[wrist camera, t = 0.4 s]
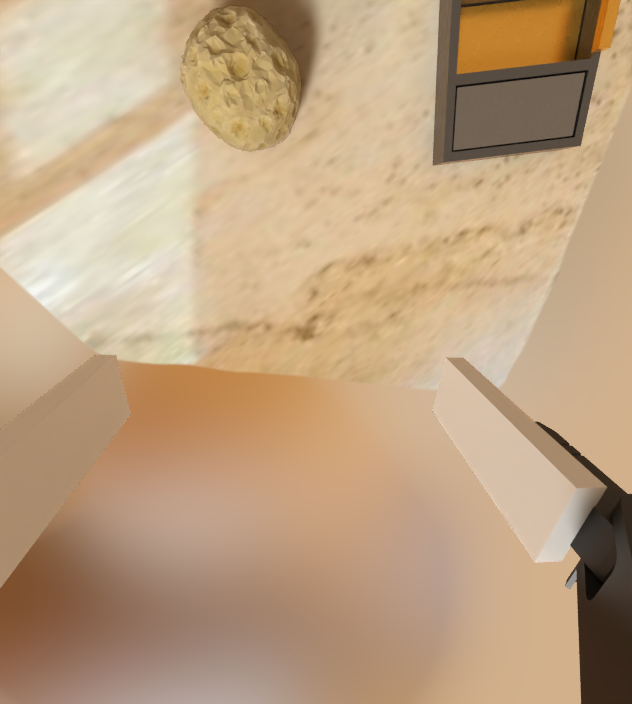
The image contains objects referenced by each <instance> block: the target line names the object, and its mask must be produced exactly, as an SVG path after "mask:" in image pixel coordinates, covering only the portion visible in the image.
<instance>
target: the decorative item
mask: <svg viewBox="0 0 632 704" xmlns="http://www.w3.org/2000/svg"><path fill="white" fill-rule="evenodd" d="M181 57H182V58H183V62H182V64H181V68H180V69H181V81H182V84H183V87H184V91H185V93H186V95H187V97H188V98H189V100H190V101H191V103H192V106H193V109H194V111H195V112H196V113H197V115H198V116H199V118H200V119H201V120H202V121H203V122H204V124H205V125H206V126H207V127H208V128H209V129H210V130H211V131H212V132H213V133H214V134H215V135H216V136H217V137H218V138H220V139H222V140H223V141H224V142H226V143H227V144H228V145H230V146H233V147H235V148H237V149H240V150H242V151H249V152H251V151H256V150H263V149H265V148H270V147H274V146H275V145H276V144H277V143H279V144H280V143H281V142H283V141H284V140H285V139H286V138H287V136H288V134H289V133H290V131H291V128H292V126H293V124H294V122H295V119H296V113H297V111H298V108H299V102H300V92H301V78H300V70H299V66H298V63H297V61H296V60H295V58H294V56H293V55H292V53H291V50H290V48H289V47H288V46H287V44H286V42H285V40H284V39H283V38H282V37H281V36H280V35H279V33H278V32H277V31H276V30H275V28H274V27H273V26H272V25H270V24H269V23H268V22H267V21H266V19H265V18H262V17H261V16H260V15H258V14H257V13H256V12H255V11H254V10H252V9H250V8H248V7H245V6H242V7H238V6H231V5H229V6H227V7H226V8H216V9H213V10H211V11H210V13H209V14H208V15H207V16H205V18H204V19H203V20H201V21H199V22H198V24H197V25H196V27H195V28H194V30H193V32H192V33H191V34H190V37H189V39H188V40H187V42H186V50H185V54H184V55H183V56H181Z"/></svg>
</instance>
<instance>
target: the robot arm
mask: <svg viewBox="0 0 632 704" xmlns="http://www.w3.org/2000/svg"><path fill="white" fill-rule="evenodd" d="M432 412H433V413H434V415H435V416H436V418H437V419H438V421H439V422H440V424H441V425H442V427H443V428H444V430H445V431H446V433H447V434H448V436H449V437H450V438H451V440H452V441H453V443H454V444H455V446H456V447H457V449H458V450H459V452H460V453H461V455H462V456H463V457H464V459H465V461H466V462H467V463H468V465H469V466H470V468H471V469H472V471H473V472H474V473H475V475H476V477H477V478H478V480H479V481H480V483H481V484H482V486H483V487H484V488H485V490H486V492H487V493H488V494H489V496H490V497H491V499H492V500H493V502H494V503H495V505H496V506H497V508H498V509H499V511H500V512H501V514H502V515H503V517H504V518H505V520H506V521H507V522H508V524H509V525H510V527H511V528H512V530H513V531H514V533H515V534H516V536H517V537H518V539H519V540H520V541H521V543H522V545H523V546H524V548H525V549H526V551H527V552H528V553H529V555H530V556H531V558H532V559H533V561H534V562H535V563H537V562H555V561H562V560H563V558H564V556H565V555H566V553H567V551H568V550H569V548H570V547H572V548H573V549H574V550H575V552H576V553H577V554H578V555H579V557H580V558H581V559H580V561H579V563H578V564H577V565H576V567H575V569H574V570H573V572H572V573H571V575H570V576H569V578H568V579H567V582H566V585H565V587H567V588H569V589H570V588H571V587H572V585H573V584H574V582H577V596H578V597H577V599H578V627H579V654H580V681H581V704H632V494H627V493H626V492H625V491H623V490H622V489H621V488H620V487H619V486H618V485H617V484H615V483H614V482H613V481H612V480H611V479H610V478H608V477H607V476H606V475H605V474H604V473H603V472H602V471H600V470H599V469H598V468H597V467H596V466H595V465H594V464H592V463H591V462H590V461H589V460H587V458H585V457H584V456H581V453H580V452H578V451H577V450H576V449H575V448H574V447H573V446H570V445H569V443H568V442H567V441H566V440H564V439H563V438H562V437H561V436H560V435H559V434H558V433H556V432H555V431H554V430H552V429H550V428H548V427H546V426H545V425H543V424H541V423H540V422H534V421H533V420H532V419H531V418H530V417H529V416H527V415H526V414H525V413H524V412H523V411H522V410H521V409H520V408H519V407H517V406H516V405H515V404H514V403H513V402H512V401H511V400H510V399H508V397H506V396H505V395H504V394H503V393H502V392H501V391H500V390H499V389H498V388H496V387H495V386H494V385H493V384H492V383H491V382H490V381H489V380H488V379H486V378H485V377H484V376H483V375H482V374H481V373H480V372H479V371H477V370H476V369H475V368H474V367H473V366H472V365H471V364H470V363H469V362H467V361H466V360H465V359H464V358H446V359H445V363H444V367H443V371H442V375H441V379H440V383H439V387H438V391H437V395H436V400H435V403H434V407H433V411H432ZM130 415H131V412H130V408H129V404H128V400H127V396H126V393H125V389H124V385H123V381H122V377H121V373H120V369H119V365H118V361H117V357H116V355H94V356H93V357H92V358H90V359H89V360H88V361H87V362H85V363H84V364H83V365H81V366H80V367H79V368H78V369H76V370H75V371H74V372H73V373H71V374H70V375H69V376H67V377H66V378H65V379H63V380H62V381H61V382H60V383H58V384H57V385H56V386H55V387H53V388H52V389H51V390H49V391H48V392H47V393H46V394H44V395H43V396H42V397H40V398H39V399H38V400H37V401H35V402H34V403H33V404H31V405H30V406H29V407H28V408H26V409H25V410H24V411H23V412H22V413H20V414H19V415H17V416H16V417H15V418H14V419H12V420H11V421H10V422H8V423H7V424H6V425H5V426H3V427H2V428H1V429H0V588H1V587H2V585H3V584H4V582H5V581H6V580H7V579H8V577H9V576H10V574H11V573H12V572H13V570H14V569H15V568H16V567H17V565H18V564H19V563H20V561H21V560H22V559H23V557H24V556H25V554H26V553H27V552H28V550H29V549H30V548H31V547H32V545H33V544H34V543H35V541H36V540H37V539H38V537H39V536H40V535H41V533H42V532H43V531H44V529H45V528H46V527H47V525H48V524H49V523H50V521H51V520H52V519H53V517H54V516H55V515H56V513H57V512H58V511H59V509H60V508H61V507H62V505H63V504H64V503H65V501H66V500H67V499H68V497H69V496H70V495H71V493H72V492H73V490H74V489H75V488H76V487H77V485H78V484H79V483H80V481H81V480H82V479H83V477H84V476H85V475H86V473H87V472H88V471H89V469H90V468H91V467H92V465H93V464H94V463H95V461H96V460H97V458H98V457H99V456H100V455H101V453H102V452H103V451H104V449H105V448H106V447H107V445H108V444H109V443H110V441H111V440H112V439H113V437H114V436H115V435H116V433H117V432H118V431H119V429H120V428H121V427H122V425H123V424H124V423H125V421H126V420H127V419H128V417H129V416H130Z"/></svg>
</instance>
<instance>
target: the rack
mask: <svg viewBox="0 0 632 704" xmlns="http://www.w3.org/2000/svg"><path fill="white" fill-rule="evenodd" d="M619 5H620V0H440V10H439V33H438V56H437V80H436V103H435V126H434V150H433V165H441V164H449V163H457V162H465V161H474V160H482V159H490V158H498V157H506V156H514V155H522V154H531V153H539V152H547V151H555V150H562V149H567V148H572V147H577V146H581V142H582V137H583V132H584V127H585V123H586V118H587V113H588V109H589V104H590V99H591V95H592V90H593V85H594V81H595V76H596V71H597V67H598V62H599V57H600V53H601V52H602V51H604V50H606V49H608V48H610V45H611V41H612V36H613V32H614V27H615V23H616V18H617V14H618V9H619Z"/></svg>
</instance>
